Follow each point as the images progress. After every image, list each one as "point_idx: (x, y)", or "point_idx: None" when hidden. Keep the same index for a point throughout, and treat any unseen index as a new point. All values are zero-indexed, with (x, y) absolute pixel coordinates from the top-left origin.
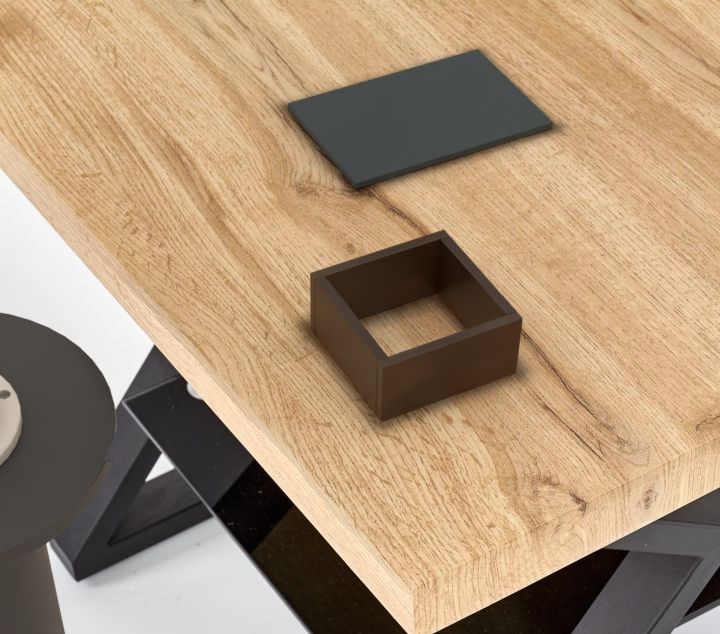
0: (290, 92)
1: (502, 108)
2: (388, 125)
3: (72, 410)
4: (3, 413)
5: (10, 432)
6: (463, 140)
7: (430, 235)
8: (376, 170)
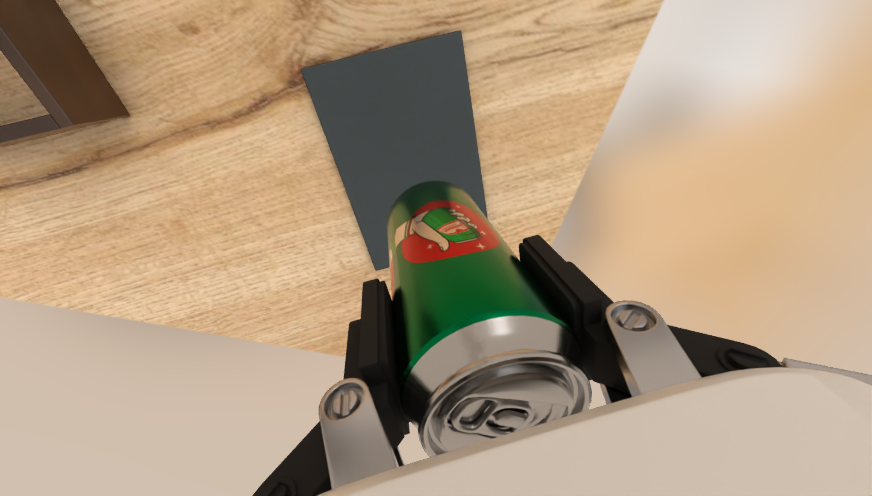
0: (488, 44)
1: None
2: (397, 133)
3: None
4: None
5: None
6: (361, 196)
7: (52, 103)
8: (322, 99)
